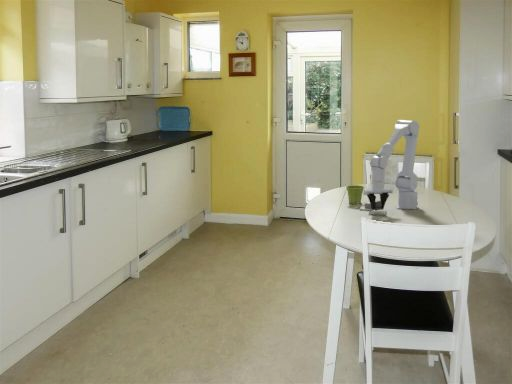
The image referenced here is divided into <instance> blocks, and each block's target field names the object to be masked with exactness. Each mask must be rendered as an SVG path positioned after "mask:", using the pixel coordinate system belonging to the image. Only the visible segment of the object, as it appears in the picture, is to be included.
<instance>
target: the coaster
mask: <svg viewBox="0 0 512 384" xmlns="http://www.w3.org/2000/svg"><path fill="white" fill-rule="evenodd" d="M369 214H371V215H370V216H382V215H383V217H384V216H385V217H386V216H387V211H386V210H376V211H374V210H368V215H369Z"/></svg>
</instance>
